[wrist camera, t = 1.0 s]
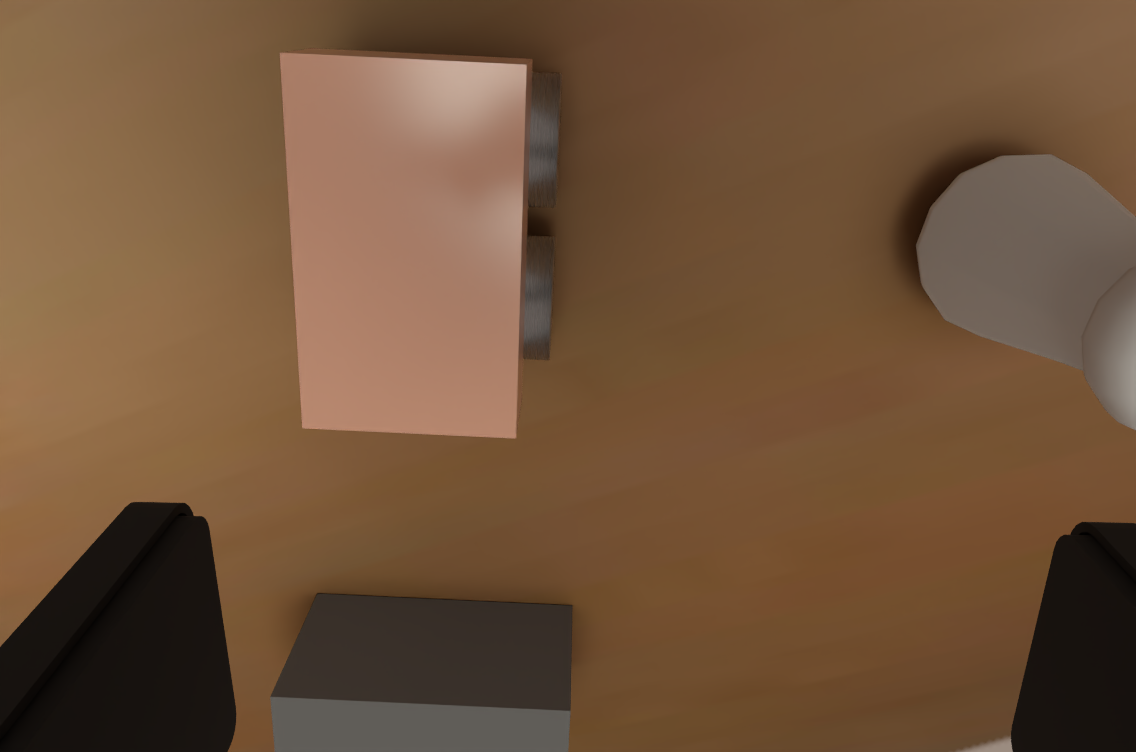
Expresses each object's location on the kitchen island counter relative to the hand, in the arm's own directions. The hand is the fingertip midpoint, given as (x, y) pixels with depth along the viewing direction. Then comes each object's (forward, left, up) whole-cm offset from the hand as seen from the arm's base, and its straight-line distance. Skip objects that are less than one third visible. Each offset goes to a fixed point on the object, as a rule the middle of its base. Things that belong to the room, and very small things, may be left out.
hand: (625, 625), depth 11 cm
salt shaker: (0, +13, -23) cm, 26 cm away
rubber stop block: (+17, -5, -23) cm, 29 cm away
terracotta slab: (0, -5, -18) cm, 19 cm away
